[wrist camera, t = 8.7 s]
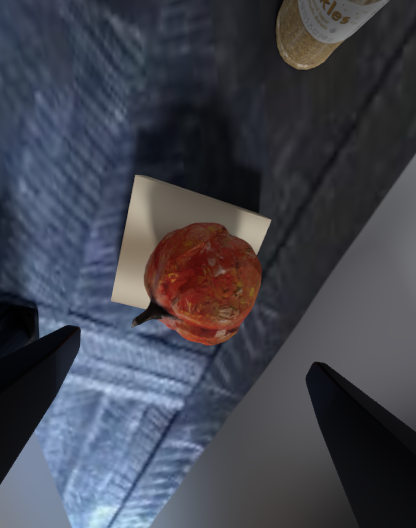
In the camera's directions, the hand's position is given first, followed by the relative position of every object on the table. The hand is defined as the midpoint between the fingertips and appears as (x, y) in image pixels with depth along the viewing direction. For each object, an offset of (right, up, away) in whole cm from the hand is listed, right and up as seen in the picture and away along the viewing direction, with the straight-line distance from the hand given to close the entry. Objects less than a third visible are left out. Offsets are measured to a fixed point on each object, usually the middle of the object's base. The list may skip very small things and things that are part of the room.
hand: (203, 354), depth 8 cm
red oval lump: (0, +4, +9) cm, 10 cm away
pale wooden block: (-2, +5, +12) cm, 13 cm away
